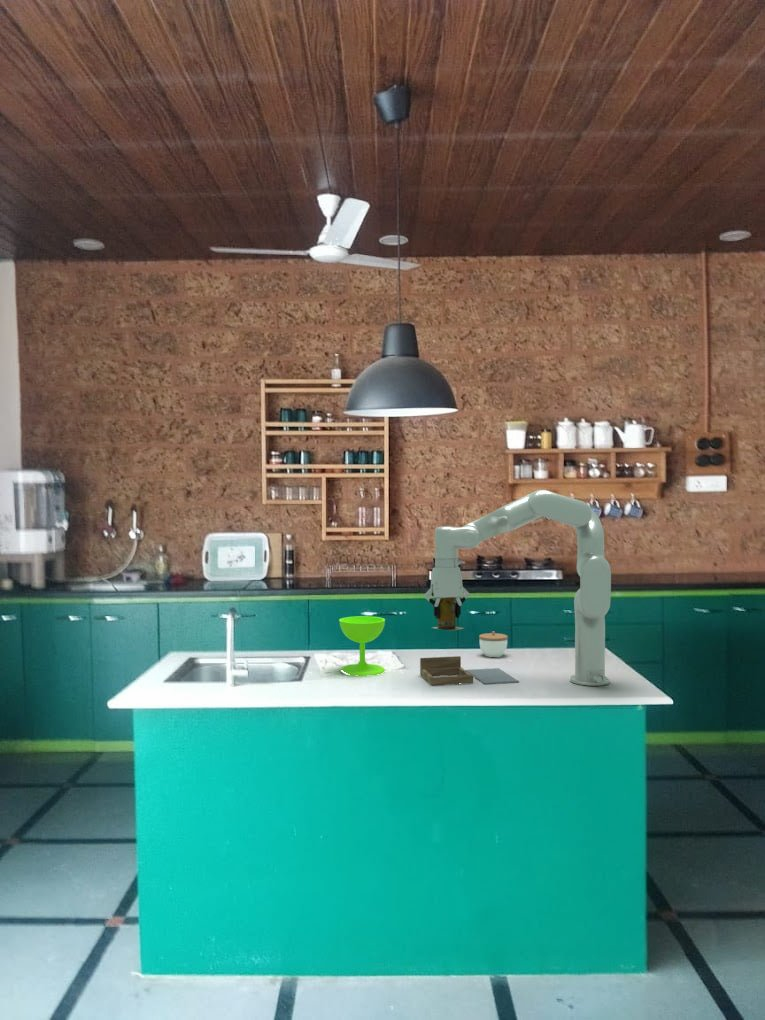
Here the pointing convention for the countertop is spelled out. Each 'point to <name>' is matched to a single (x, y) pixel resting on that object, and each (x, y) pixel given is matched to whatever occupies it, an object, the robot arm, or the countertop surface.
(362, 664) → the wineglass
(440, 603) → the condiment
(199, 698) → the countertop surface
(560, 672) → the countertop surface
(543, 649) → the countertop surface
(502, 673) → the mat
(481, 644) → the lidded jar
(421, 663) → the holder
